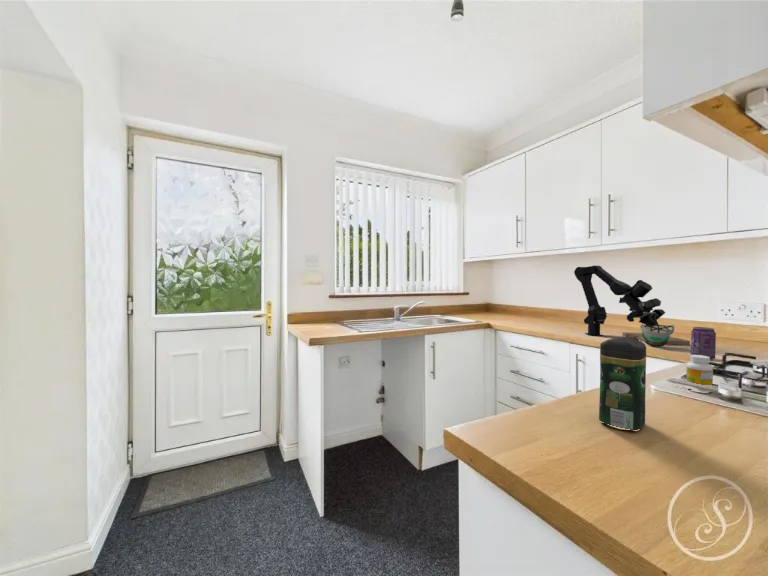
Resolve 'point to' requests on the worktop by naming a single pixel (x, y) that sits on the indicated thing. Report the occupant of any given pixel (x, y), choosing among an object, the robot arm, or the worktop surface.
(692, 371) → the supplement bottle
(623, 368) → the coffee jar
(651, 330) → the food container
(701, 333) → the beverage can
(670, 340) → the walnut chopping board
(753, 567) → the worktop surface
